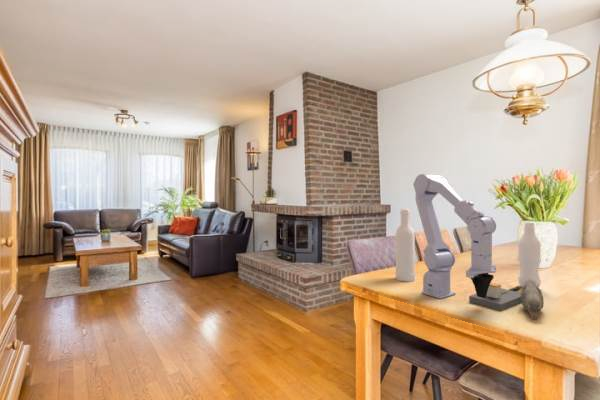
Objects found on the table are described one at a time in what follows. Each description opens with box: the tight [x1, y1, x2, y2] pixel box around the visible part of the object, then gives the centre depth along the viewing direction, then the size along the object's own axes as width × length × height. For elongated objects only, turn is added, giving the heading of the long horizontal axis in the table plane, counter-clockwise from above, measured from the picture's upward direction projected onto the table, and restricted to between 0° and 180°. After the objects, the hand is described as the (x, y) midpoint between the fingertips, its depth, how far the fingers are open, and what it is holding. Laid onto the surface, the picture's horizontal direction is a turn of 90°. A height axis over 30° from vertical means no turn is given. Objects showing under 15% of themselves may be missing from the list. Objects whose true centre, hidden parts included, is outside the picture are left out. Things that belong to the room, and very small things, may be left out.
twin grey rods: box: [508, 285, 521, 292], centre depth 117 cm, size 12×6×1 cm, turn 123°
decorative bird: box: [520, 280, 545, 321], centre depth 100 cm, size 6×17×8 cm, turn 148°
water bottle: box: [517, 222, 542, 289], centre depth 124 cm, size 7×7×25 cm
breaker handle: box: [486, 282, 502, 299], centre depth 107 cm, size 3×4×4 cm
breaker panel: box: [468, 287, 522, 312], centre depth 109 cm, size 18×10×2 cm, turn 123°
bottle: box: [395, 208, 416, 283], centre depth 137 cm, size 8×8×30 cm
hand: (481, 296), depth 103 cm, fingers closed
